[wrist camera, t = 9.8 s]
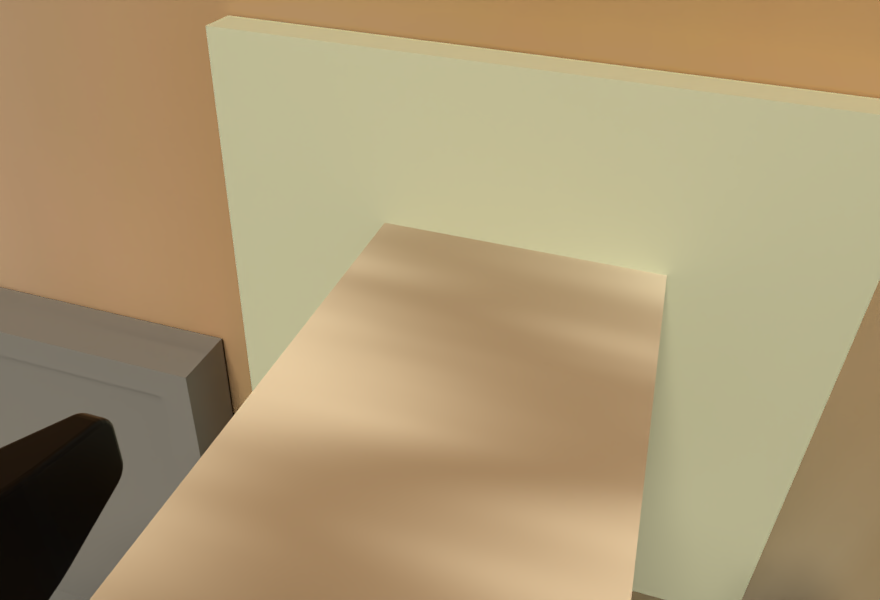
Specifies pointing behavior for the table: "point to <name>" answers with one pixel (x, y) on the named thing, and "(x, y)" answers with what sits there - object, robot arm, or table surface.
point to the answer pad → (579, 233)
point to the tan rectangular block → (428, 440)
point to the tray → (112, 407)
